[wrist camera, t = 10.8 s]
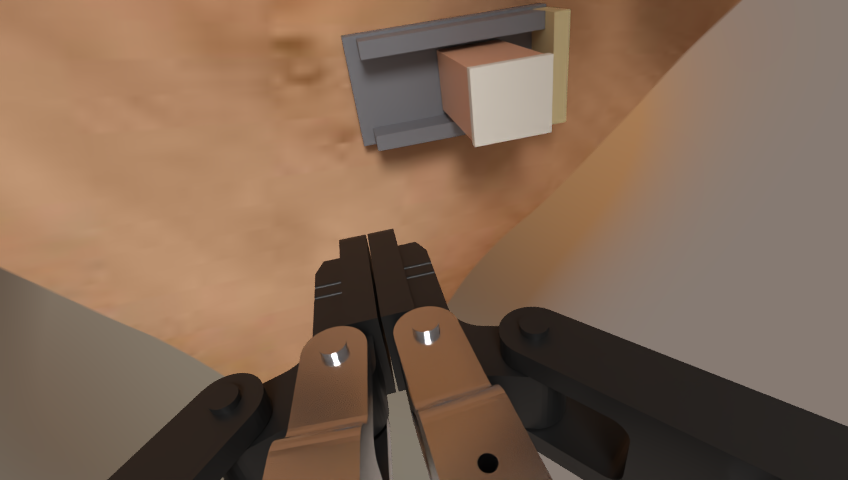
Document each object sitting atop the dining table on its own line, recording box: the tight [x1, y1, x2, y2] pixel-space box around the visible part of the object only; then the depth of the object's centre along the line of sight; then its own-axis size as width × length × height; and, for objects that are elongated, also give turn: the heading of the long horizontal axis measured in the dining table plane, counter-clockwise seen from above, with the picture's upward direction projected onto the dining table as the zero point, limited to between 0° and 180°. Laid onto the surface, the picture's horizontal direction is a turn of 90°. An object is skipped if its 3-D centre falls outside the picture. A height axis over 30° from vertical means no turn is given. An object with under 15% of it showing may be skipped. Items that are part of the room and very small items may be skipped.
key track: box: [341, 3, 571, 151], centre depth 34 cm, size 16×8×6 cm, turn 98°
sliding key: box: [437, 39, 554, 147], centre depth 31 cm, size 5×5×10 cm
